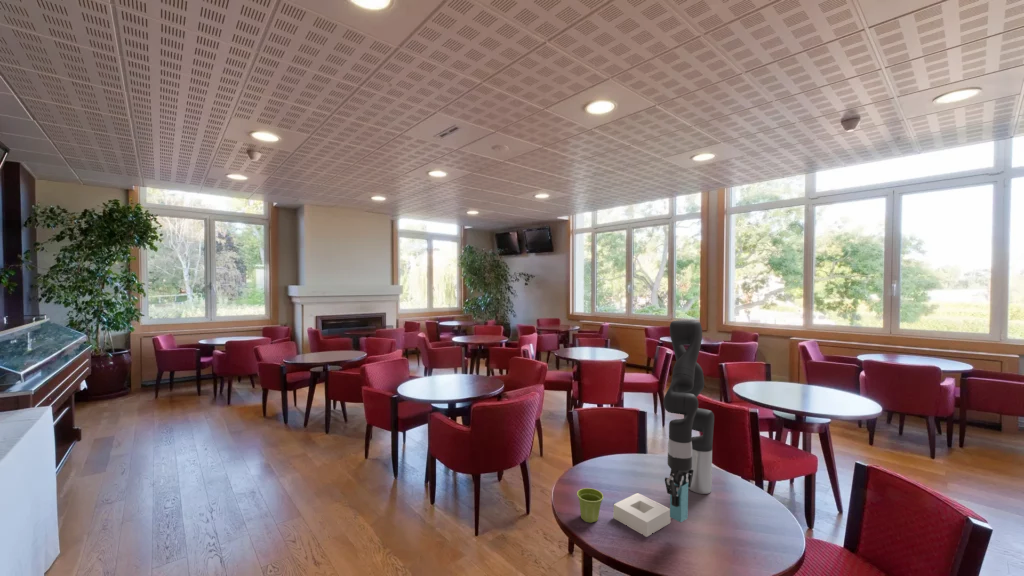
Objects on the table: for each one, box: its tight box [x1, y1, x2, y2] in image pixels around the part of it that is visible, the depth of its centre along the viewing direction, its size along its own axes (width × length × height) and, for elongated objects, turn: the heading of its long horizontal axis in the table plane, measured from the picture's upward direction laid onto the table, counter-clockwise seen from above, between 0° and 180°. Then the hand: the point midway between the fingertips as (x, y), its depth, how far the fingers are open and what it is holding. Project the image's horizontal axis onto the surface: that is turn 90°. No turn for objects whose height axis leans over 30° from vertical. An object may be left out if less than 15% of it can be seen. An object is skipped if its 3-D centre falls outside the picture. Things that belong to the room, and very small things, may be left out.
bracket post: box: [669, 482, 689, 523], centre depth 141 cm, size 4×4×12 cm
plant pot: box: [576, 487, 604, 524], centre depth 153 cm, size 9×9×9 cm
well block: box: [612, 492, 672, 538], centre depth 152 cm, size 14×14×5 cm
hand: (678, 503), depth 141 cm, fingers closed on bracket post, 4 cm apart
